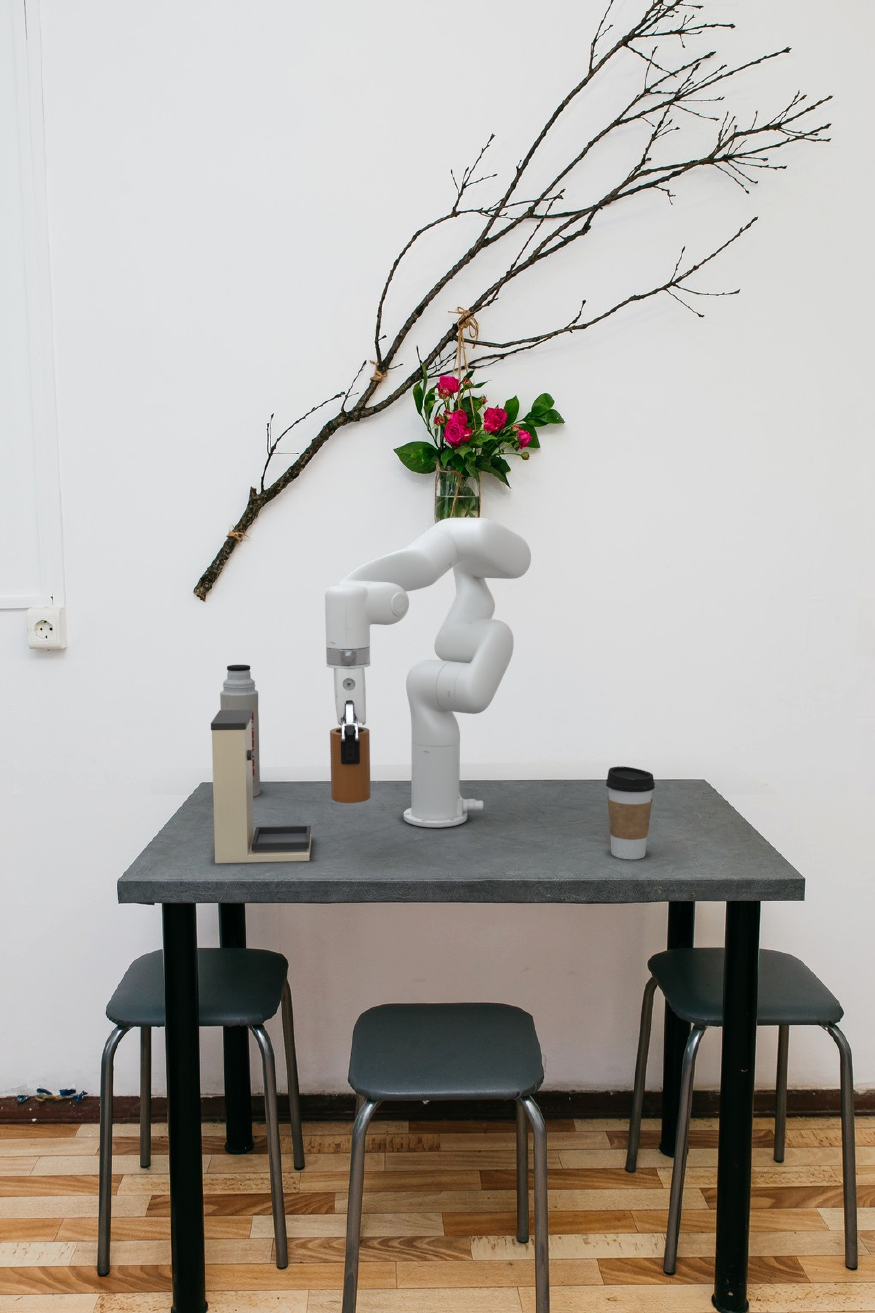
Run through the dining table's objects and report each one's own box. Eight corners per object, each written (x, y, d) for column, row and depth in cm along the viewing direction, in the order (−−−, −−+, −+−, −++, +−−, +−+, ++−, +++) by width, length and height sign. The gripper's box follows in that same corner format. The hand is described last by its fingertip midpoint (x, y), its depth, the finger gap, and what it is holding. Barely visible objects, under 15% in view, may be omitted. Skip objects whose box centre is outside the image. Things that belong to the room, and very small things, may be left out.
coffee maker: (311, 839, 183) (309, 709, 179) (309, 861, 171) (307, 722, 167) (222, 841, 181) (219, 710, 178) (214, 863, 169) (210, 723, 166)
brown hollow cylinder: (369, 791, 177) (368, 725, 175) (371, 802, 170) (369, 734, 169) (331, 792, 177) (330, 726, 175) (331, 803, 170) (329, 735, 168)
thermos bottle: (262, 797, 211) (259, 667, 207) (223, 800, 209) (220, 668, 205) (258, 788, 218) (255, 662, 215) (221, 790, 216) (218, 663, 213)
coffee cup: (618, 843, 181) (621, 763, 179) (660, 853, 176) (663, 770, 174) (595, 855, 174) (597, 771, 173) (638, 865, 169) (641, 779, 167)
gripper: (371, 664, 162) (373, 770, 164) (368, 650, 179) (370, 746, 181) (325, 665, 161) (328, 772, 164) (326, 650, 178) (329, 747, 181)
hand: (350, 757), depth 172 cm, fingers closed on brown hollow cylinder, 6 cm apart
